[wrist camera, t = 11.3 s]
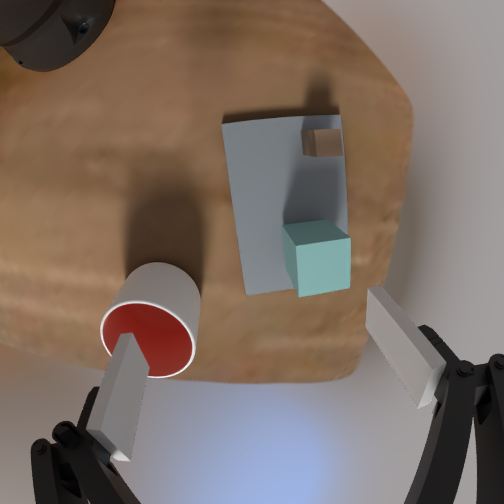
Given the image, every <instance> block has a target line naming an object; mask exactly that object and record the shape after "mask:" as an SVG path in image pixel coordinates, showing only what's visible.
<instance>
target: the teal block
mask: <svg viewBox="0 0 504 504" xmlns="http://www.w3.org/2000/svg"><path fill="white" fill-rule="evenodd" d="M282 231H283V242H284V253H285V265H286V270H287V272H288V274H289V277H290V279H291V281H292V283H293V285H294V287H295V290H296V292H297V294H298V296H299V297H303V296H309V295H315V294H320V293H325V292H331V291H336V290H341V289H347V288H350V258H351V238H350V237H349V236H348V235H346V234H345V233H344V232H343V231H342V230H340V229H339V228H338V227H337V226H335V225H334V224H333V223H332V222H330V221H329V220H328V219H324V220H317V221H309V222H302V223H294V224H287V225H282Z"/></svg>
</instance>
